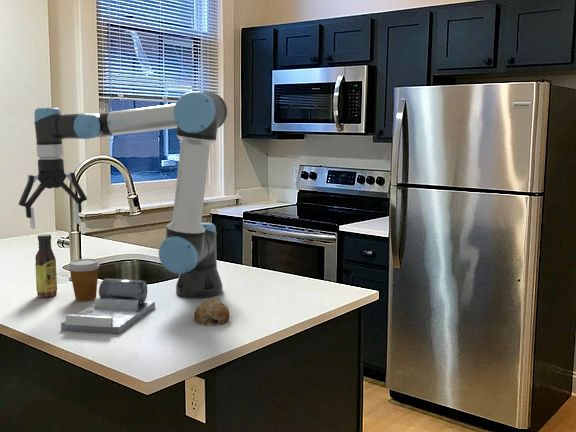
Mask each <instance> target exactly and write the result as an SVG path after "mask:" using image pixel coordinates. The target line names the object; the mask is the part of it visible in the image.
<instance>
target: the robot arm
mask: <svg viewBox="0 0 576 432" xmlns="http://www.w3.org/2000/svg"><path fill="white" fill-rule="evenodd" d="M33 113H34V122H33V123H34V129H35V139H36V141H35V142H36V155H37V156H36V157H37V158H38V160H37V168H38V169H37V170H38V174H37V175H32V174H28V175H27V183H26V185H25V188H24V189H23V192H22V194H21V197H20V199H19V201H18V205H19V206H20V207H24V209H25V216H26V218H27V219H29V222H30V223H29V224H30V225H29V226H30V227H29V228H31V229H32V230H34V229H36V223H35V221H36V220H35V219H36V218H35V210H34V207H33V204H34V203H35V202H36V201H37V200H38V198H39V196H40V195H41V194H42V192H43V191H44V190H45V189H48V190H49V189H53V188H54V189H59V188H61V189H62V190H64V191H65V192H66V194H67V195H68V196H69V197H71V198H72V200H74V202H73V203H72V204H73V205H72V206H73V217H74V218H73V220H74V224H77V225H79V224H80V214H81V213H82V209H83V208H82V203H83V202H85V201H87V199H88V198H87V195H86V194H85V192H84V190H83V189H82V187H81V186H80V184H79V182H78V181H77V178H76V173H75V172H71V171H70V172H68V173H65V166H64V165H65V164H64V159H63V158H62V157H64V152H63V151H64V150H63V140H64V139H70V140H71V139H74V140H75V139H81V140H89V139H90V140H91V139H95V138H105V137H111V136H117V135H119V136H120V135H127V134H135V133H136V134H137V133H143V132H144V133H146V132H154V131H161V130H171V129H176V137H177V139H179V141H180V146H179V147H180V148H179V157H178V166H177V167H178V168H177V177H176V185H175V194H174V202H173V211H172V220H171V221H170V222H169V223H167V225H166V230H165V239H164V240H162V242H161V243H160V246H159V249H158V257H159V261H160V263H161V264H162V265H163V267H164V268H165V269H167V270H168V271H169V272H171V273H173V274H179V275H178V279H177V282H176V284H175V293H176V295H177V296H179V297H183V298H188V299H190V298H191V299H203V298H211V297H214V296H217V295H221V294H222V293H223V283H222V280H221V277H220V274H219V271H218V268H217V267H218V264H217V258H218V257H217V229H216V227H217V226H216V225H215V224H214V223H211V222H202V218H203V210H204V202H205V192H206V183H207V175H208V166H209V159H210V149H211V145H212V144H214V142H216V140H217V135H218V134H217V133H218V129H219V128H221V127H222V126H223V124H225V122H226V120H227V118H228V106H227V103H226V101H225V100H224V99H223V98H222V97H221V96H220V95H219V94H217V93H215V92H210V91H202V90H192V91H190V92H189V91H188V92H186V93H184V94H182V95H181V96H180V97H178V99H177V101H176V102H175V103H170V104H164V105H156V106H147V107H139V108H132V109H125V110H124V109H122V110H115V111H108V112H106V111H105V112H99V113H61V110H60V108H58V107H38V108H35V110H34V112H33ZM66 178H67V180H69V181H70V183H71V184H72V186H73V187H74V189H75V192H76V193H77V194H78V196H77V194H76V193H74V191H72V190H71V188H70V187H69V186H68V184H66V183H65V182H64V181H65V179H66ZM37 180H38V182H39V184H38V186H37V188H36V189H35V190H34V192H33V193H32V194H31V196H30V192H31V190H32V189H33V185H34V183H35V182H36V181H37ZM29 196H30V197H29ZM28 198H29V199H28Z"/></svg>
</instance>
